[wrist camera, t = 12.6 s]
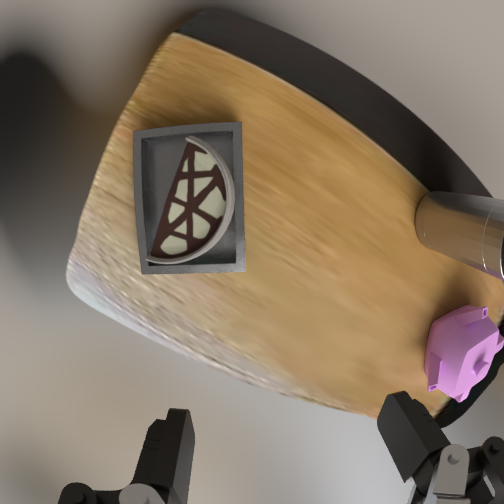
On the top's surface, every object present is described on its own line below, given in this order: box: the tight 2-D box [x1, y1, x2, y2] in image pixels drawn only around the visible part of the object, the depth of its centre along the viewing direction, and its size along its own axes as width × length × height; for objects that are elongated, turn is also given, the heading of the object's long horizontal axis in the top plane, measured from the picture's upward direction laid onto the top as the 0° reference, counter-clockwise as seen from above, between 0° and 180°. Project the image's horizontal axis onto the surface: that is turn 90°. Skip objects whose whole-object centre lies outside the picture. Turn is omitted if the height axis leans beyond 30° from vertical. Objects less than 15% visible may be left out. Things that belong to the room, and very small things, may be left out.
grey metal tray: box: [133, 122, 245, 274], centre depth 31 cm, size 12×17×4 cm
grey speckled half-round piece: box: [145, 136, 235, 264], centre depth 27 cm, size 12×6×10 cm, turn 159°
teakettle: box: [424, 305, 504, 402], centre depth 36 cm, size 17×17×12 cm
